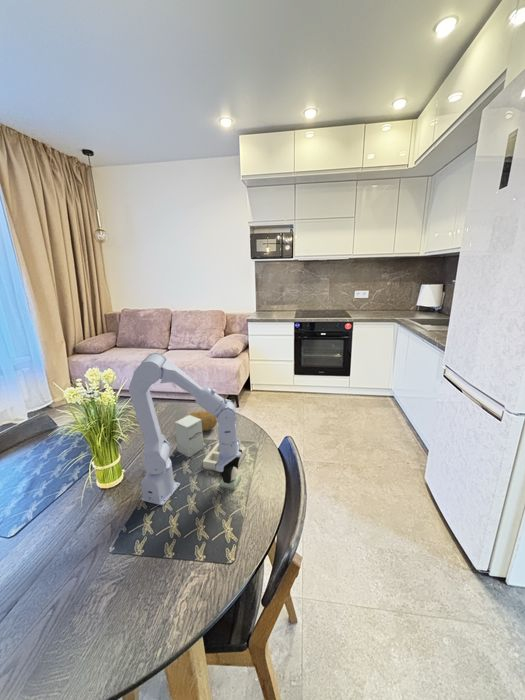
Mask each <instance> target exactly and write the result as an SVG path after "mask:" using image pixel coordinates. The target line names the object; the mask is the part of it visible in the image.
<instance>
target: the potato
mask: <svg viewBox="0 0 525 700" xmlns="http://www.w3.org/2000/svg"><path fill="white" fill-rule="evenodd" d="M188 415H191V416H193V417H196V418H199V419H201V421H202V432H205V431H209V430H212V429H214V428H215V427H216V425H217V423H218V422H217V420H216V418H217V417H216V416H214V415H212V414H211V413H209V412H208V411H206V410H200V411H194V412H191V413H189V414H188Z"/></svg>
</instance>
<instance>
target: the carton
mask: <svg viewBox="0 0 525 700" xmlns="http://www.w3.org/2000/svg"><path fill="white" fill-rule="evenodd" d="M241 450H242V454H241V457H240V459H239V464H238V468H239V467H240V465H241V463H242V462H243V461H244V458H245V457H246V456H247V448H246V447H245V446H241ZM219 451H220V450H219V442H217V443H216V444H214V447H212V449H211V450H210V451H209V453H208V454H207V455H206V456H205V458H203V460H202V466H203V467H202V468H203V469H204V470H208V471H209V470H210V471H215V472H217V471H216V467H215V464H216V463H217V461H218V457H219Z"/></svg>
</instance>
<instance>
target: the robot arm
mask: <svg viewBox="0 0 525 700" xmlns="http://www.w3.org/2000/svg"><path fill="white" fill-rule="evenodd" d="M159 380H160V382H159ZM157 382H159V383H160V384H167V383H173V384H174V385H176V386H177V387H179V388H181V389H183V390H184V391H185V392H187V393H189V394H190V395H191V396H193V397H194V398H195V399H194V400H195V403H196V404H197V405H198V406H200V407H201V408H203V409H204V411H208V412H209V413H211V414H212V415H214V416H216V417H217V418H216V420H217V423H218V424H217V435H218V443H219V450H220V451H219V457H218V461H217V463H216V464H215V467H216V471H215V472H219V474H220V477H221V478H222V479H223V481H224V483H229V484H230V482H231V474H232V469H233V467H234V466H235V467H236V468H237V470H238V468H239V467H238V464H239V459H240V457H241V454H242V450H239V446H241V439H238V430H237V429H238V428H237V414H236V413H237V412H236V406H235V404H234V402H233V401H232V400H230V399H227V398H225V399H224V398H223V397H222V396H220V395H219V394H218V393H217V390H216V389H215V388H212V387H211V388H210V387H209V386H203V387H202V386H201V385H200V384H198V382H196V381H195V380H194V379H193V378H191V377H190V376H189V375H188V374H187V373H185V372H184V371H183V370H182V369H180V368H179V366H177V365H176V364H175V363H174V362H173V361H172V360H171V359H169V358H166V356H165V355H164V354H161V353H159V352H153V353H149V354H148V355H147V356H146V357H145V358H144V359H143V360H142V361H141V363H140V364H139V365H138V366H137V368H135V370H134V371H133V374H132V377H131V380H130V383H129V385H128V391H129V396H130V399H131V402H132V404H133V409H134V411H135V415H136V419H137V422H138V426H139V429H140V432H141V435H142V440H143V443H144V447H143V456H144V462H143V469H144V470H145V471H146V473H145V475H144V477H143V478H142V479H141V482H140V489H141V493H142V497H141V498H140V500H141V501H142V502H147V503H151V504H155V505H159V506H164V505H165V504H166V502H167V501H168V500H169V499H170V498H171V497H172V495H173V494H174V493H175V492H176V491H177V489H178V488H179V487H180V486H181V483H180V482H178V481H175V480H174V473H173V466H172V460H171V458H170V453H171V450H172V446H171V444H170V442H169V441H168V440H167V439H166V436H165V434H162V430H161V426H160V424H159V420H158V416H157V413H156V412H157V411H156V408H155V405H154V401H153V398H152V394H151V390H150V388H151V386H152V385H154V384H155V383H157ZM222 479H221V480H222Z"/></svg>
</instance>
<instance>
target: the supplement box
mask: <svg viewBox="0 0 525 700" xmlns="http://www.w3.org/2000/svg"><path fill="white" fill-rule="evenodd" d="M173 423H174V431H175V440H176V449H177V452H179V453H180V454H183V456H186V457H188V458H191V457H192V456H194V455H195V454H197V453H198V452H199V451H201V450H203V449H204V448H205V447H204V436H203V431H202V421H201V419H199V418H196V417H193V416H191V415H189V414H187V415H186V416H184V417H182V418H180V419H179V420H178V419H177V420H176V421H174V422H173Z"/></svg>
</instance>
